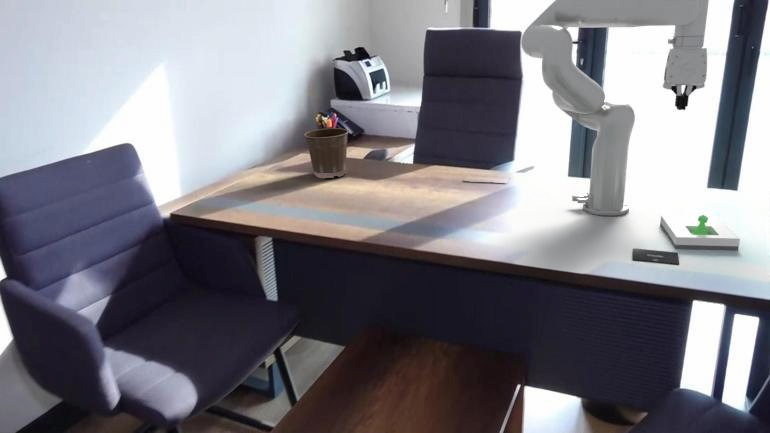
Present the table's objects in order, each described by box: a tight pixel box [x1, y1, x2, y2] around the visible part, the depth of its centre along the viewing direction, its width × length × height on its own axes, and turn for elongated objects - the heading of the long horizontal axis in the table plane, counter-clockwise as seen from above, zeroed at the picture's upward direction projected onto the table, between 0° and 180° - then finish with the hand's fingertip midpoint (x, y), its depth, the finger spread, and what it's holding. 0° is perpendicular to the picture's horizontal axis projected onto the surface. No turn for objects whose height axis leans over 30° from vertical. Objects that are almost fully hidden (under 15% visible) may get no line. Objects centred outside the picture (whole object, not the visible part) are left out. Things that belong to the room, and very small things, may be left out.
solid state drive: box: [631, 248, 680, 266], centre depth 144 cm, size 7×10×1 cm
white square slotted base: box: [659, 214, 741, 251], centre depth 154 cm, size 14×16×3 cm
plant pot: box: [303, 127, 349, 173], centre depth 224 cm, size 16×16×16 cm
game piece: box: [692, 214, 709, 235], centre depth 150 cm, size 4×4×6 cm
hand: (680, 109), depth 174 cm, fingers closed
